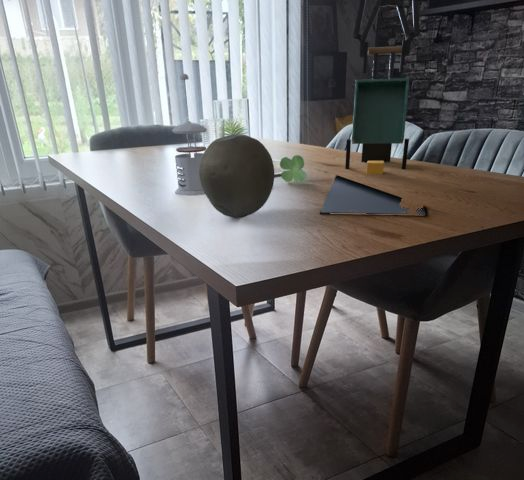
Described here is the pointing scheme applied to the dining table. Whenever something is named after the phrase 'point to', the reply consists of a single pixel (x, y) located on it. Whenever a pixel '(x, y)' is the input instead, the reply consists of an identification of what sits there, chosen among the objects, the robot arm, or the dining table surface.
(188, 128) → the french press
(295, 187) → the dining table surface
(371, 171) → the block
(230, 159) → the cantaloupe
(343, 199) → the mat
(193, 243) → the dining table surface
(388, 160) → the stand
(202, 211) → the dining table surface
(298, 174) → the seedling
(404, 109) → the green shallow box
